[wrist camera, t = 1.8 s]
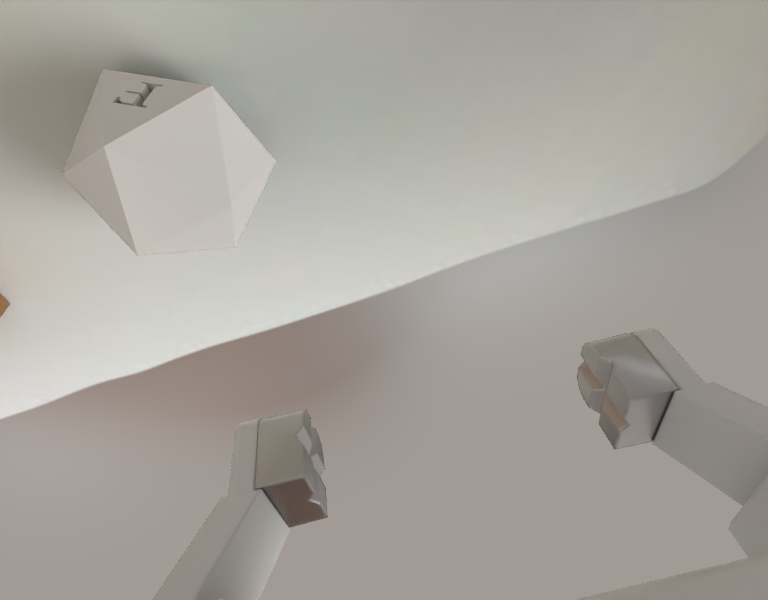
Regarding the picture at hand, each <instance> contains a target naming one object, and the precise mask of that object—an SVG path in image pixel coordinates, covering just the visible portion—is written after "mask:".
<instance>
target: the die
mask: <svg viewBox="0 0 768 600" xmlns="http://www.w3.org/2000/svg"><path fill="white" fill-rule="evenodd" d="M275 163H276V161H275V160H274V159H273V157H272V156H271V155H270V154H269V153H268V151H267V150H266V149H265V148H264V147H263V146H262V144H261V143H260V142H259V141H258V140H257V138H256V137H255V136H254V135H253V134H252V133H251V131H250V130H249V129H248V128H247V127H246V125H245V124H244V123H243V122H242V121H241V119H240V118H239V117H238V116H237V115H236V114H235V112H234V111H233V110H232V109H231V108H230V106H229V105H228V104H227V103H226V102H225V101H224V99H223V98H222V97H221V96H220V95H219V93H218V92H217V91H216V90H215V89H214V88H213V86H212V85H206V84H199V83H192V82H186V81H179V80H173V79H166V78H159V77H153V76H146V75H140V74H133V73H126V72H120V71H113V70H107V69H103V70H102V72H101V75H100V78H99V80H98V83H97V85H96V88H95V90H94V93H93V96H92V98H91V101H90V103H89V106H88V108H87V111H86V114H85V116H84V119H83V121H82V124H81V126H80V129H79V131H78V134H77V137H76V139H75V142H74V144H73V147H72V149H71V152H70V155H69V157H68V160H67V162H66V165H65V167H64V170H63V173H62V176H63V177H64V178H65V179H66V180H67V181H68V182H69V183H70V184H71V185H72V187H73V188H74V189H75V190H76V191H77V192H78V193H79V194H80V195H81V196H82V197H83V198H84V199H85V200H86V201H87V202H88V204H89V205H90V206H91V207H92V208H93V209H94V210H95V211H96V212H97V213H98V214H99V215H100V216H101V217H102V218H103V219H104V221H105V222H106V223H107V224H108V225H109V226H110V227H111V228H112V229H113V230H114V231H115V232H116V233H117V234H118V235H119V237H120V238H121V239H122V240H123V241H124V242H125V243H126V244H127V245H128V246H129V247H130V248H131V249H132V250H133V251H134V252H135V254H136V255H137V256H145V255H157V254H169V253H180V252H192V251H204V250H216V249H228V248H236V246H237V243H238V241H239V239H240V237H241V235H242V233H243V231H244V229H245V226H246V224H247V222H248V220H249V218H250V216H251V214H252V212H253V209H254V207H255V205H256V203H257V201H258V199H259V197H260V195H261V192H262V190H263V188H264V186H265V184H266V182H267V180H268V178H269V175H270V173H271V171H272V169H273V167H274V165H275Z"/></svg>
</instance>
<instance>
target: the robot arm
mask: <svg viewBox="0 0 768 600" xmlns="http://www.w3.org/2000/svg"><path fill="white" fill-rule="evenodd" d="M581 356H582V358H583V359H584V362H583V363H582V364H581V365H580V366H579V367H578V374H577V380H578V386H579V390H580V392H581V394H582V396H583V399H584V400H585V402H586V404H587V406H588V407H589V408H591V409H593V410H594V411H596V412H598V413H600V419H599V425H600V427H601V428H602V430H603V432H604V433H605V435H606V437H607V438H608V440H609V441H610V443H611V445H612V446H613V448H614V449H620V448H624V447H629V446H634V445H639V444H644V443H648V442H653V444H654V445H655V446H657V447H658V448H660V449H661V450H663V451H664V452H665V453H667V454H668V455H670V456H671V457H673V458H674V459H675V460H677V461H678V462H680V463H681V464H683V465H684V466H686V467H687V468H688V469H690V470H691V471H693V472H694V473H696V474H697V475H699V476H700V477H702V478H703V479H704V480H706V481H708V482H709V483H710V484H712V485H713V486H715V487H716V488H718V489H719V490H720V491H722V492H723V493H725V494H726V495H728V496H729V497H731V498H732V499H733V500H735V501H736V502H738V503H739V504H741V505H742V506H743V507H742V508H741V509H740V511H739V512H738V513H737V514H736V516H735V517H734V518H733V519H732V521H731V522H730V526H729V530H730V532H731V533H732V535H733V536H734V538H735V539H736V540H737V542H738V543H739V545H740V546H741V547H742V549H743V550H744V552H745V553H746V555H747V556H748V557H749V558H746V559H742V560H737V561H733V562H729V563H725V564H721V565H717V566H713V567H708V568H705V569H700V570H696V571H692V572H688V573H684V574H679V575H676V576H671V577H667V578H663V579H659V580H655V581H650V582H646V583H642V584H638V585H634V586H630V587H626V588H621V589H618V590H614V591H609V592H605V593H601V594H597V595H593V596H589V597H584V598H580V599H577V600H768V407H766V406H764V405H762V404H760V403H757V402H755V401H753V400H751V399H749V398H747V397H744V396H742V395H740V394H738V393H736V392H733V391H731V390H729V389H727V388H725V387H722V386H720V385H718V384H716V383H714V382H713V383H707V384H706V383H705V382H704V380H703V379H702V378H701V377H700V376H699V375H698V374H697V373H696V372H695V370H694V369H693V368H692V367H691V366H690V365H689V364H688V363H687V362H686V361H685V359H684V358H683V357H682V356H681V355H680V354H679V353H678V352H677V351H676V349H675V348H674V347H673V346H672V345H671V344H670V343H669V342H668V341H667V340H666V339H665V337H664V336H663V335H662V334H661V333H660V332H659V331H658V330H656V329H654V328H648V329H645V330H640V331H636V332H632V333H625V334H621V335H617V336H613V337H609V338H605V339H601V340H597V341H593V342H589V343H585V345H584V346H583V347H582V351H581ZM324 469H325V468H324V457H323V450H322V445H321V441H320V438H319V435H318V432H317V430H316V429H315V428H313V427H311V417H310V415H309V413H308V411H307V409H305V410H300V411H295V412H290V413H286V414H281V415H276V416H271V417H267V418H262V419H257V420H252V421H248V422H243V423H239V424H238V425H237V427H236V429H235V432H234V442H233V452H232V460H231V470H230V479H229V490H228V496H226V497H223V498H221V499H220V500H219V502H218V503H217V505H216V506H215V507H214V509H213V510H212V512H211V513H210V515H209V517H208V518H207V519H206V521H205V522H204V524H203V525H202V527H201V529H200V530H199V531H198V533H197V534H196V536H195V537H194V539H193V540H192V542H191V543H190V545H189V546H188V548H187V549H186V551H185V552H184V554H183V555H182V557H181V558H180V559H179V561H178V563H177V564H176V565H175V567H174V569H173V570H172V572H171V573H170V574H169V576H168V577H167V579H166V580H165V582H164V583H163V585H162V586H161V588H160V589H159V591H158V592H157V594H156V595H155V597H154V598H153V600H259V598H260V596H261V594H262V592H263V589H264V587H265V585H266V583H267V580H268V578H269V576H270V574H271V571H272V569H273V567H274V565H275V563H276V561H277V558H278V556H279V554H280V552H281V550H282V547H283V545H284V543H285V541H286V539H287V536H288V534H289V532H290V527H293V526H297V525H301V524H305V523H308V522H312V521H316V520H320V519H323V518H327V517H328V515H327V498H326V487H325V485H324V483H323V481H322V479H321V477H320V476H321V475H322V473H323V471H324Z"/></svg>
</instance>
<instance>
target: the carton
mask: <svg viewBox="0 0 768 600" xmlns="http://www.w3.org/2000/svg"><path fill="white" fill-rule="evenodd" d="M9 305H10V304H9V303H8V302H7V301H6V300H5V299H4V297H3V296H2V295H1V294H0V317H1V316H2V315H3V313H4V312H5V310H6V309H7V307H8V306H9Z"/></svg>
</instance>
